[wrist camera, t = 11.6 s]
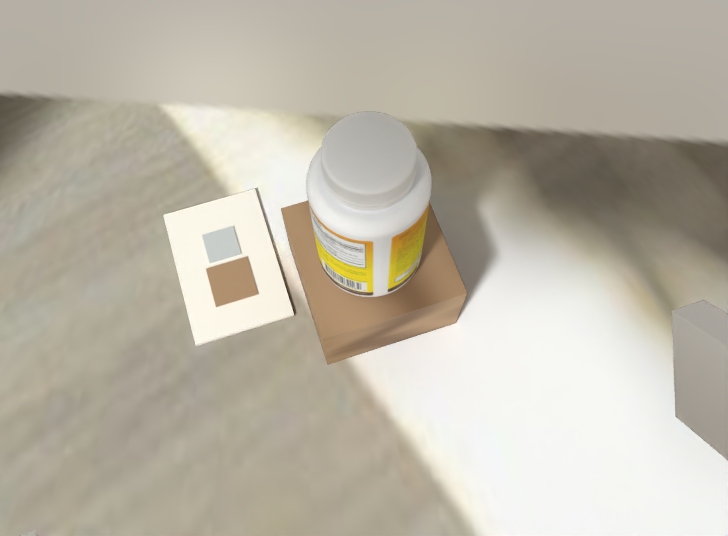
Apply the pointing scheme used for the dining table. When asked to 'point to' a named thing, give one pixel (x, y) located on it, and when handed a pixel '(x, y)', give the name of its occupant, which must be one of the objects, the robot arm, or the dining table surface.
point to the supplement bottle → (369, 203)
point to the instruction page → (227, 267)
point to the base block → (375, 314)
